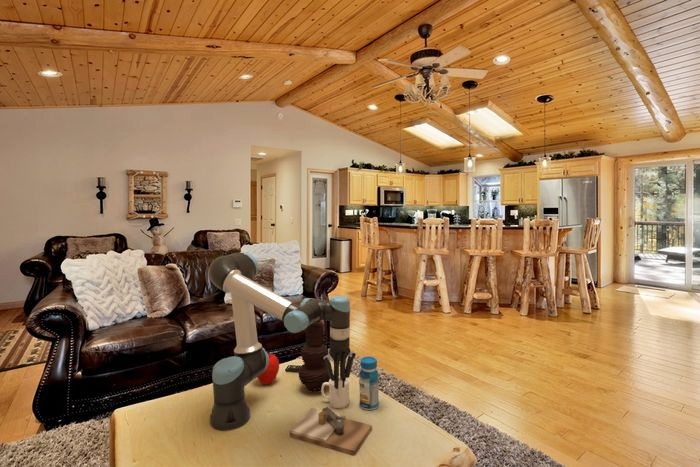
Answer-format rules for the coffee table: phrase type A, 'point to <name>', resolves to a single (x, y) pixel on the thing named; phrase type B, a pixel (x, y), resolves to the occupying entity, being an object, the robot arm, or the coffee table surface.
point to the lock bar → (335, 421)
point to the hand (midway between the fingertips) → (339, 395)
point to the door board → (330, 432)
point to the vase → (314, 359)
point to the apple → (270, 370)
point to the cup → (333, 397)
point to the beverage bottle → (369, 384)
